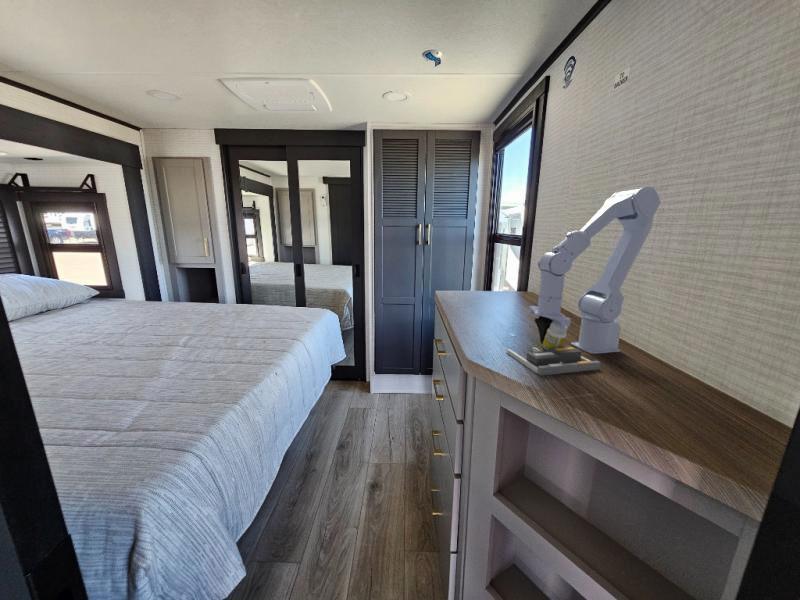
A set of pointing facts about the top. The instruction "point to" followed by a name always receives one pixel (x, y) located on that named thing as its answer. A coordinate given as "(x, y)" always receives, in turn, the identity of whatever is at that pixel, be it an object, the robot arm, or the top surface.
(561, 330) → the supplement bottle
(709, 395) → the top surface
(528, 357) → the block
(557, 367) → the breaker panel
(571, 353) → the breaker
